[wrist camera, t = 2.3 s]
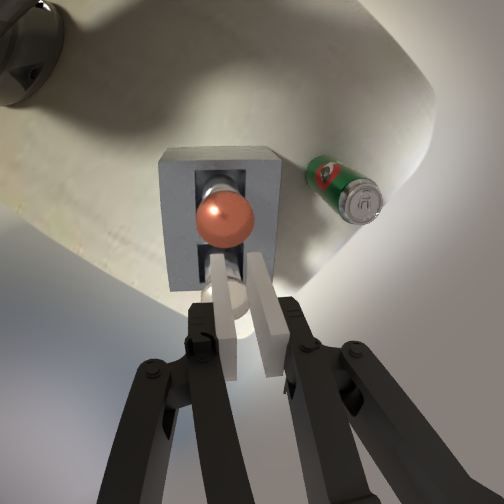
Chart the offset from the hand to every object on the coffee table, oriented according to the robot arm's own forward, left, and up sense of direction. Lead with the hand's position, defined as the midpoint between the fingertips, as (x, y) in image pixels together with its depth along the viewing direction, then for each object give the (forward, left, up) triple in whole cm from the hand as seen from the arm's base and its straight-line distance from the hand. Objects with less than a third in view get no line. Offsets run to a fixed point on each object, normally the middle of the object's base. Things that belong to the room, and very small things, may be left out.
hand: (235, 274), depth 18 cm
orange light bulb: (0, 0, -15) cm, 15 cm away
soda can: (0, +14, -23) cm, 26 cm away
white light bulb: (+8, 0, -15) cm, 17 cm away
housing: (+4, 0, -22) cm, 23 cm away
